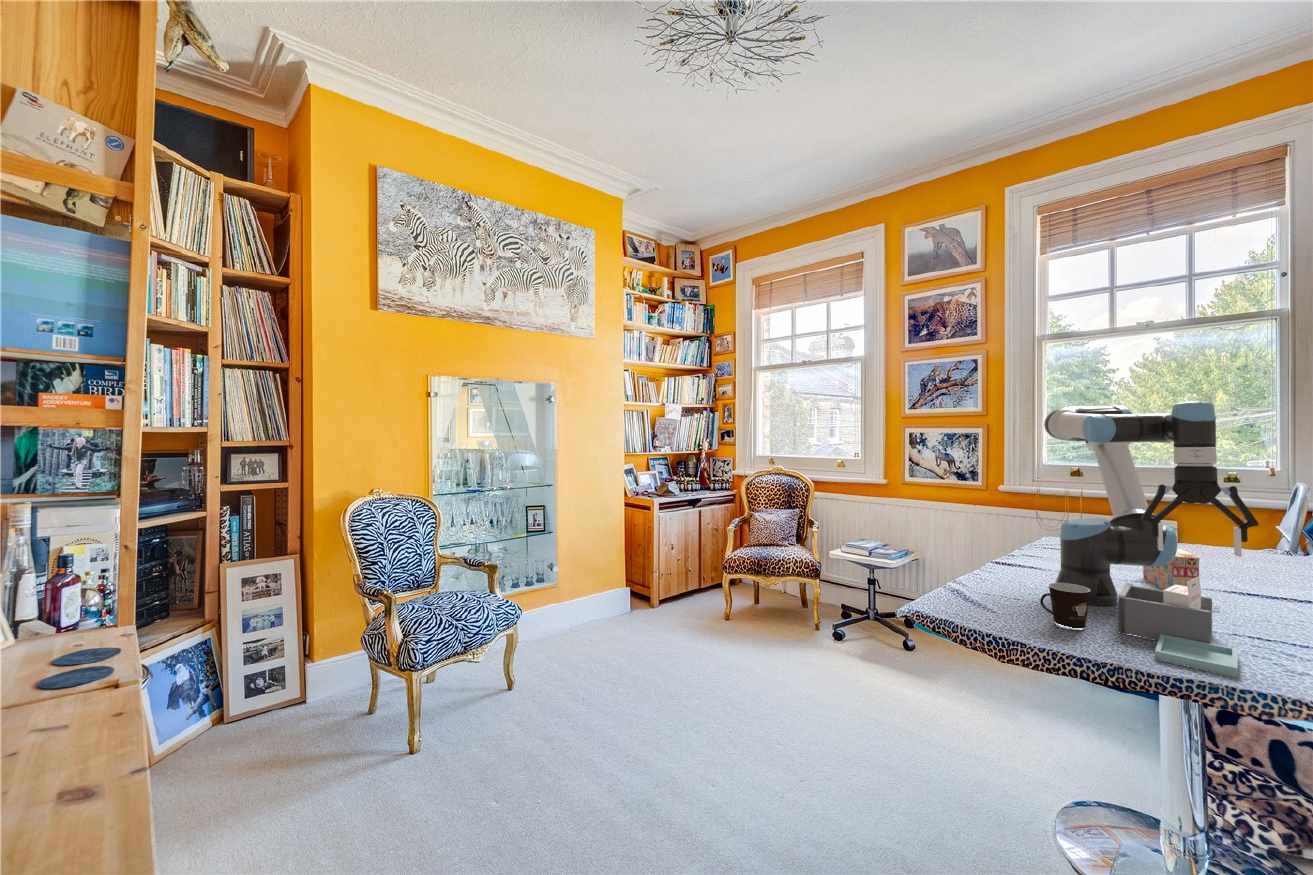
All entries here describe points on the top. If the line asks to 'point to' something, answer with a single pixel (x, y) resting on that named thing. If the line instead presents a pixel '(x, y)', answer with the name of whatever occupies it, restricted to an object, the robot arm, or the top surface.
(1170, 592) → the ink cartridge box
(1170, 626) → the bay
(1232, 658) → the tray
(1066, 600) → the coffee mug
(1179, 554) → the stack of blocks
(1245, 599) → the top surface
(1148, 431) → the robot arm
